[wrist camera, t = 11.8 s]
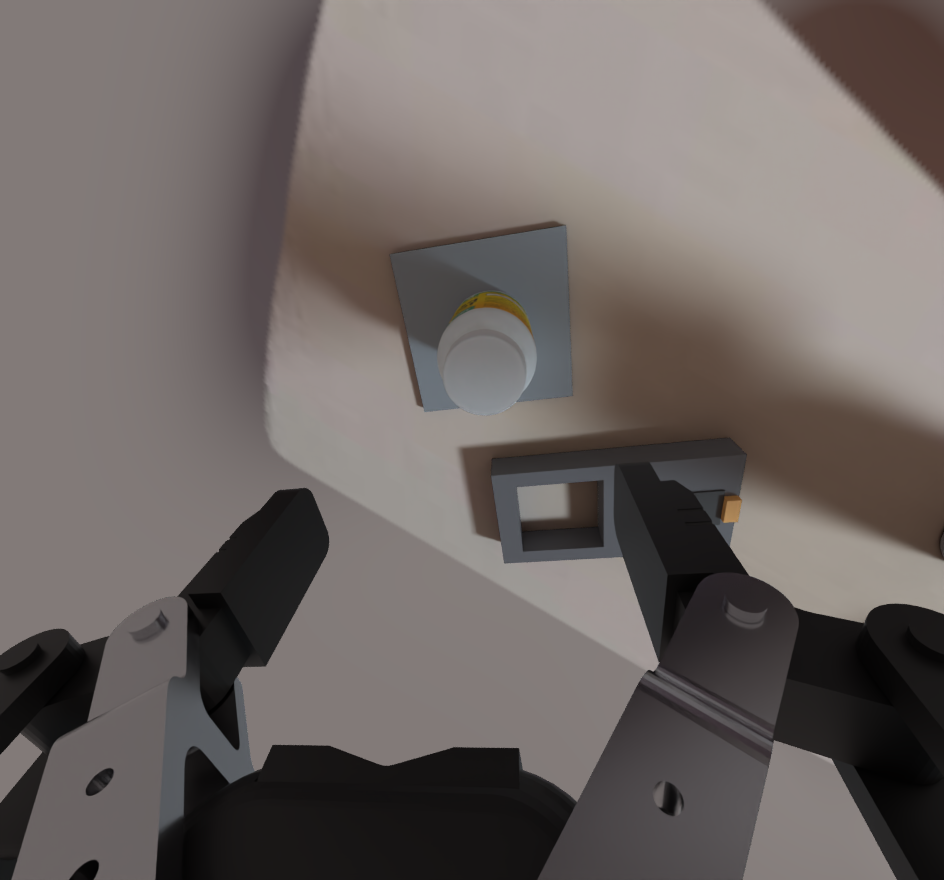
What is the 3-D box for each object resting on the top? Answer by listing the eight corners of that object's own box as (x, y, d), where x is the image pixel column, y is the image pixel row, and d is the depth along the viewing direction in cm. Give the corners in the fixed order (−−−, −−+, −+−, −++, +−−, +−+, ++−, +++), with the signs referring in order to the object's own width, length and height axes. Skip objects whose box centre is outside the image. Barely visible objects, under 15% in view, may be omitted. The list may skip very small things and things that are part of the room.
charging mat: (564, 225, 25) (566, 225, 24) (571, 392, 30) (572, 396, 29) (391, 253, 26) (389, 254, 26) (425, 408, 31) (424, 412, 31)
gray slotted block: (729, 437, 31) (751, 458, 28) (714, 530, 35) (732, 556, 32) (492, 458, 33) (490, 480, 30) (504, 543, 37) (504, 568, 35)
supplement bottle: (505, 381, 29) (504, 447, 21) (438, 345, 28) (409, 399, 20) (546, 313, 27) (564, 357, 18) (474, 272, 26) (458, 298, 18)
